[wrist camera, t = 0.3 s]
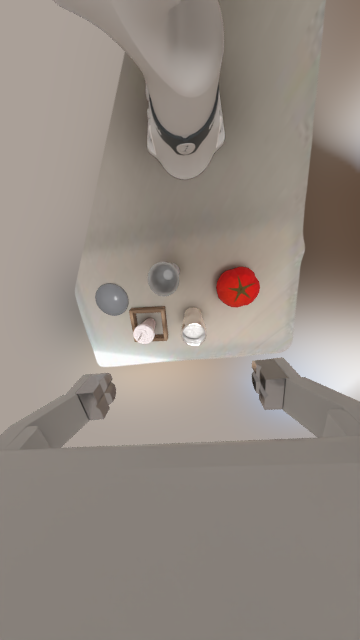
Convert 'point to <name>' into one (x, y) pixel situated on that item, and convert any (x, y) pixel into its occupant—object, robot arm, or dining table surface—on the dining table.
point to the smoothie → (145, 331)
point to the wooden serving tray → (150, 310)
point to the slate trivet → (111, 299)
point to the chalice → (163, 278)
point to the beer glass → (193, 327)
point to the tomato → (237, 287)
